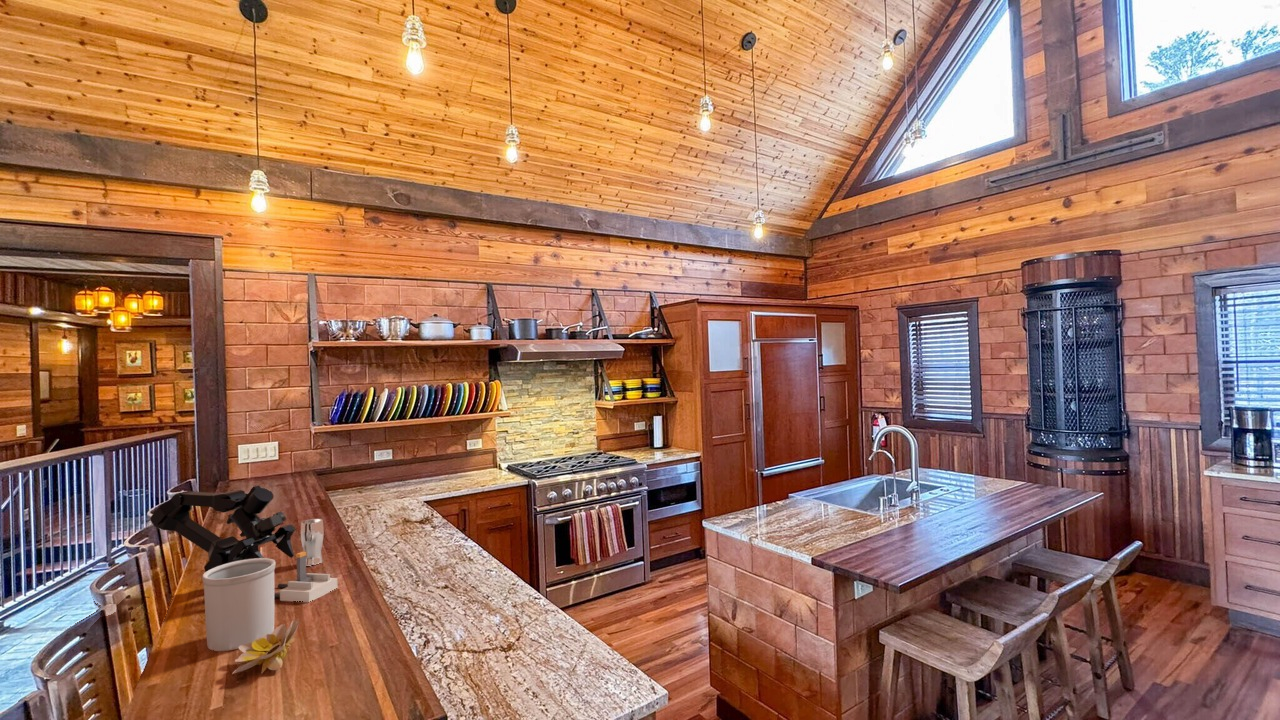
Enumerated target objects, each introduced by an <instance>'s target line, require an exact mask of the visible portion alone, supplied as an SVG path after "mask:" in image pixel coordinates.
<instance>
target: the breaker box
mask: <svg viewBox="0 0 1280 720" xmlns="http://www.w3.org/2000/svg"><path fill="white" fill-rule="evenodd" d="M306 577H312V580H311V581H309V582H300V581H296V580H289V581H287V583H282V582H281V583H278V584H277V588H280V590H279V592H274V598H278V599H279V601H282V602H293V601H296V602H297V601H298V602H297V603H308V602H309V603H311V602H313V601H315V600H317V599H319V598H321V597H323V596H325V595H326V594H329V593H331V592H333V591H335V590H336V588H337V589H338V577H331V574H330V573H329V574H328V573H312V572H306ZM281 588H282V589H281ZM334 589H335V590H334ZM332 590H333V591H332ZM330 591H331V592H330ZM312 600H313V601H312ZM299 601H301V602H299ZM302 601H303V602H302ZM310 601H311V602H310ZM296 602H295V603H296Z"/></svg>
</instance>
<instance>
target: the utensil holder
mask: <svg viewBox="0 0 1280 720" xmlns="http://www.w3.org/2000/svg"><path fill="white" fill-rule="evenodd" d="M276 563H277V562H276V560H275V559H274V558H273V559H272V558H268V557H264V558H254V559H246V560H240V561H235V562H231V563H227V564H223V565H220V566H217V567H215V568H212V569H210V570H208V571H207V572H204V573H203V574H202V576H201V578H202V582H203V591H204V592H203V594H204V612H205V613H204V614H205V616H204V617H205V618H204V620H205V621H204V622H205V631H206V632H205V633H206V634H205V636H206V645H207V649H209V650H211V651H213V650H214V651H215V652H226V651H234V650H239V648H238V647H239V646H240V645H243V644H248V643H252V642H253V641H255V640H256V639H258V638H262V637H263V636H265V635H266V634H272V633H273V631H274V630H275V613H276V612H275V610H276V609H275V597H274V593H275V569H276V566H277V565H276ZM214 651H213V652H214Z"/></svg>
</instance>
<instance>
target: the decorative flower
mask: <svg viewBox="0 0 1280 720" xmlns="http://www.w3.org/2000/svg"><path fill="white" fill-rule="evenodd" d="M299 619H300V618H296V619H295V620H292V621H291V622H290V624H289V626H288V628H287V625H286V624H285V623H282V624H280V625H279V626H276V628H274V631H273V633H272V634H266V635H265V636H263V637H262V638H258V639H256V640H255V641H253V642H252V643H248V644H243V645H240V646H239V647H238V648H239V649H238V650H240V651H241V652H242V653H241V654H240V655H239V656H238V658H236V659H234V662H235V663H241V664H240V665H239V666H238V667H237V668H236V669H235V670H234V671H233V672H232V673H231V674H232V675H234V674H236V673H240V672H243V671H247V670H248V669H251V668H254V667H255V666H256V665H259V666H260V665H262V667H261V672H260V673H261V675H263V673H264V672H265V671H266V670H267V669H268V670H271V671H276V670H279V669H281V668H283V663H284V662H283V660H284V659H285V658H286V655H287V652H288V649H289V648H290V647H291V646H292V645H291V643H294V642H295V640H296V637H294V636H295V634H296V632H297V630H298V628H299V624H300V623H299Z"/></svg>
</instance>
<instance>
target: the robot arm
mask: <svg viewBox="0 0 1280 720" xmlns="http://www.w3.org/2000/svg"><path fill="white" fill-rule="evenodd" d="M274 497H275V496H274V494H273V492H272V490H269V489H267V488H265V487H261V486H260V485H253V486H252V487H251V489H250V491H249V492H248V493H246V492H245V491H244V490H243V489H242V490H241V489H238V490H232V491H228V492H227V491H226V492H206V491H204V492H203V491H193V490H186V491H182V492H177V493H175V494H174V495H172V497H171V498H170V499H168V500H166V501H165V502H164V503H163V504H162V505H160V506H159V507H158V508H157V509H156V510H154V511H153V513H152V515H151V516H150V522H151V524H152V526H153V527H155V528H157V529H159V530H162V531H169V532H175V533H177V534H179V535H180V536H182V537H183V538H185V539H187V540H188V541H190V543H192V544H194V545H196V546H197V547H199V548H201V549H202V550H203V551H205V552H206V553H207V555H208V556H207V557H208V561H207V563H205V565H204V567H203V569H204V571H205V572H207V571H208V570H210V569H212V568H215V567H217V566H220V565H223V564H227V563H231V562H235V561H240V560H246V559H254V558H265V557H264V555H263V554H262V553H261V552H260V550H259V546H261V545H264V544H267V543H270V542H272V543H273V544H275V547H276V548H277V549H278V550H280V551H281V552H283V554H285V555H286V556H287V557H289V558H291V559H292V558H294V556H295V554H294V549H293V547H292V540H291V539H292V536H293V535H294V532H295V531H296V530H297V529H296V528H295V526H294V525H293V524H287V525H284V522H285V521H286V520H287V517H286V515H285V513H284V512H282V511H278V512H276V513H274V514H272V516H269V517H266V518H265V517H264V518H263V517H262V518H261V517H260V516H259V515H258V514H261V513H262V512H263V511H264V510H265V509H266V507H268V505H269V504H270V503H271V502H272V501H273V500H274ZM193 507H206V508H212V509H213V510H214V511H216V512H219V513H228V512H232V511H234V512H232V513H231V514H228V518H227V520H226V525H231V524H235V525H236V526H237V527H238V529H239V531H240V532H241V533H240V534H239V536H240V538H243V537H245V538H244V539H240V540H239V539H238V538H236V537H235V536H233V535H232V536H228V537H225V538H222V537H220V536H218V535H217V534H216V533H213V532H212V531H210V530H209V529H208V528H206V527H204V526H203V525H201V524H200V523H198V522H196V521H195V520H193V519H191V514H190V513H191V511H192V508H193ZM281 525H283V526H281ZM279 526H280V527H279ZM277 527H279V528H278V529H277V530H276V528H277ZM275 531H276V532H275ZM273 532H274V533H273ZM205 572H204V573H205Z"/></svg>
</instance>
